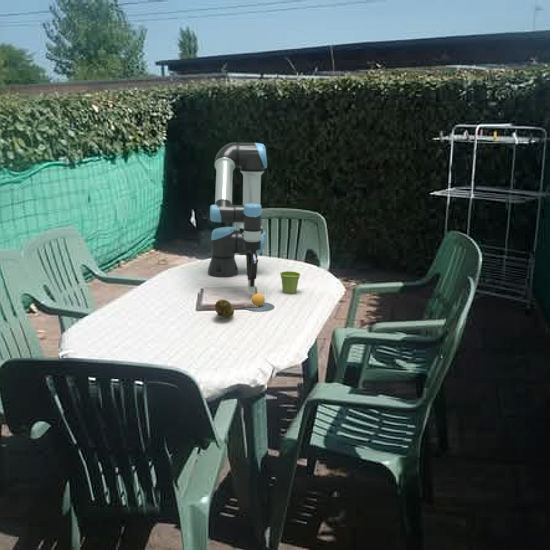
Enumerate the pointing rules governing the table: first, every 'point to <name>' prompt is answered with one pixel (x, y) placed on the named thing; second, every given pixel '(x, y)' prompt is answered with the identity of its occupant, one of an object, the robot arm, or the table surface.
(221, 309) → the potato
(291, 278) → the plant pot
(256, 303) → the ball
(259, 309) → the disc
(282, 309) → the table surface
